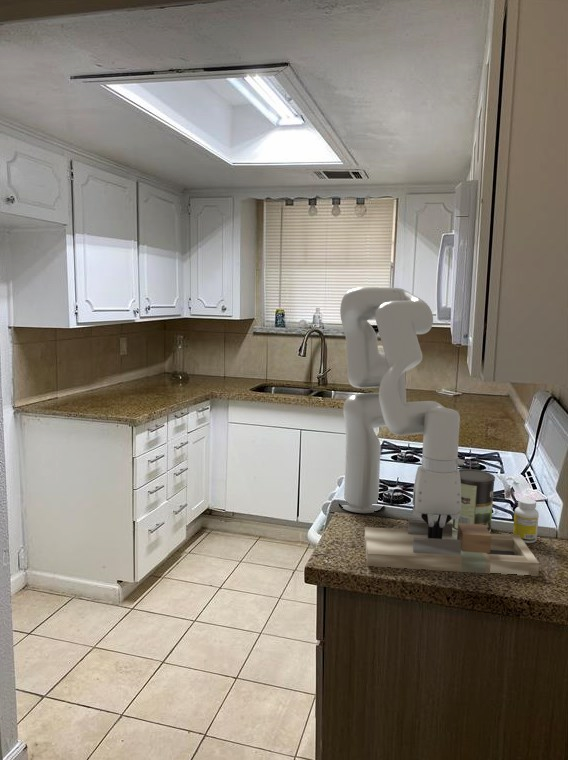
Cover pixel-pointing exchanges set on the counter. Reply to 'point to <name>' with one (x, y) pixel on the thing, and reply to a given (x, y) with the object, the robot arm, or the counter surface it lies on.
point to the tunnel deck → (446, 551)
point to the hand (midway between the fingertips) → (434, 541)
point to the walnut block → (474, 538)
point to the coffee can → (475, 498)
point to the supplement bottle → (526, 520)
